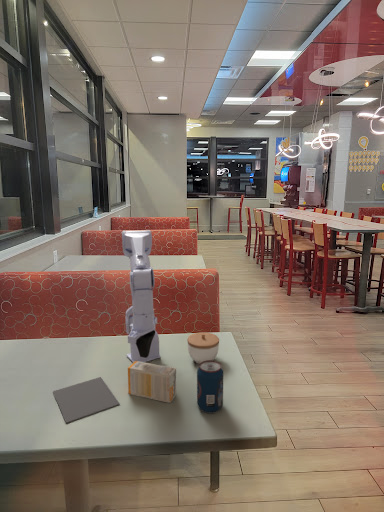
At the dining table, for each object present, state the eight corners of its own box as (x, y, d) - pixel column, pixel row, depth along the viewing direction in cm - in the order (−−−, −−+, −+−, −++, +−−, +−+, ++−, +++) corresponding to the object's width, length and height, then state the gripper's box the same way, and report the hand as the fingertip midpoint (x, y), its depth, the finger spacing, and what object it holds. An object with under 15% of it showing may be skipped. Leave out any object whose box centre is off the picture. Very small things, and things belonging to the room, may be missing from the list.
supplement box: (136, 385, 102) (176, 394, 97) (127, 394, 97) (170, 404, 93) (135, 359, 100) (177, 367, 96) (127, 367, 96) (170, 376, 92)
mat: (100, 377, 106) (100, 376, 106) (119, 404, 93) (119, 403, 93) (52, 392, 98) (52, 391, 98) (66, 423, 85) (66, 422, 85)
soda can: (197, 398, 95) (197, 358, 93) (222, 399, 95) (222, 359, 93) (196, 414, 88) (196, 372, 86) (223, 415, 88) (224, 372, 86)
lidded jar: (185, 366, 112) (184, 340, 111) (190, 351, 123) (190, 327, 121) (217, 369, 111) (217, 342, 109) (220, 353, 121) (220, 328, 119)
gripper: (141, 301, 103) (143, 343, 106) (116, 319, 90) (119, 366, 93) (163, 304, 101) (164, 346, 104) (141, 322, 88) (142, 370, 90)
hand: (144, 356), depth 98 cm, fingers closed
